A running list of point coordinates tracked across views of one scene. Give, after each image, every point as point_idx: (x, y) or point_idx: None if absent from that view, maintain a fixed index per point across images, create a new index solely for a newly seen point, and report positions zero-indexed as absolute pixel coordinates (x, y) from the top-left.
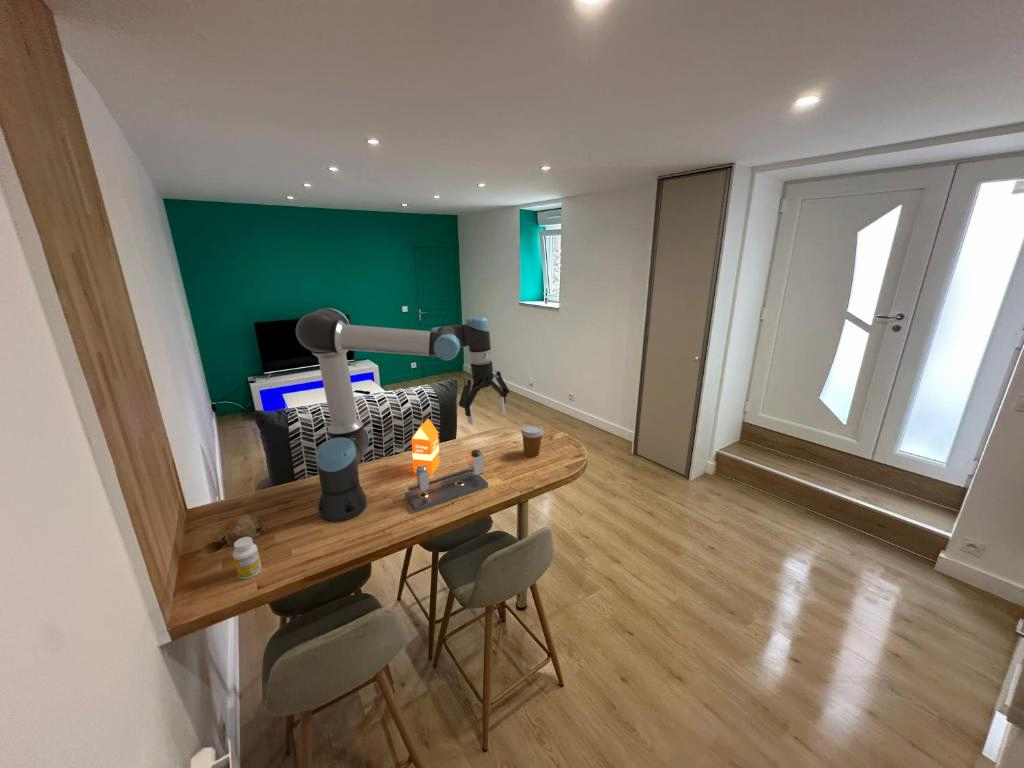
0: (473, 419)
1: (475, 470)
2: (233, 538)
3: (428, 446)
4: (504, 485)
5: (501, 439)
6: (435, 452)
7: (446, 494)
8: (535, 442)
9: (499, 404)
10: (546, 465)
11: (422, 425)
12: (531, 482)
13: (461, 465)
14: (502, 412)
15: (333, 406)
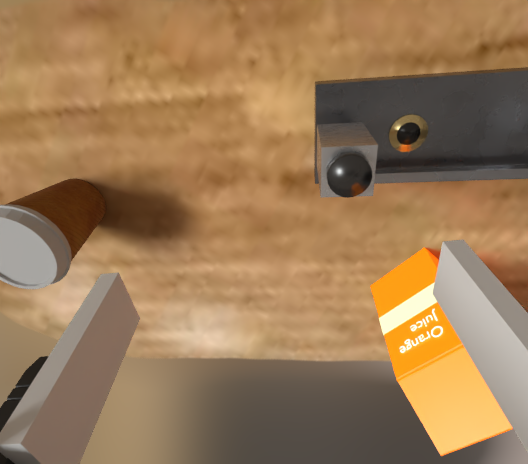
0: (468, 275)
1: (359, 127)
2: None
3: None
4: (253, 61)
5: (143, 313)
6: (408, 307)
7: (495, 88)
8: (38, 199)
9: (106, 375)
10: (52, 109)
11: (508, 423)
12: (149, 24)
13: (319, 249)
14: (120, 291)
15: None
